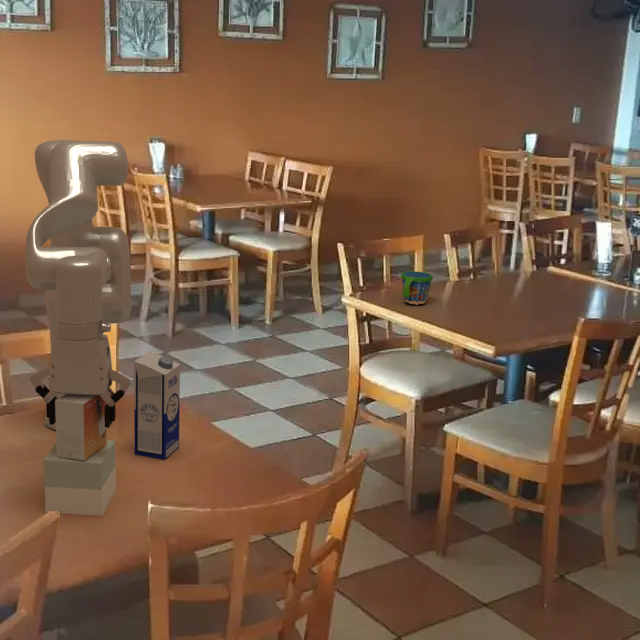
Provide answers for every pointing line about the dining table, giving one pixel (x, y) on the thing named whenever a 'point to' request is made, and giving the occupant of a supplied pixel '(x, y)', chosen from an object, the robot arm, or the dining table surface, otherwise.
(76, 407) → the small box
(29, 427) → the dining table surface
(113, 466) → the tower top
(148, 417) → the milk carton
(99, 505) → the tower bottom
